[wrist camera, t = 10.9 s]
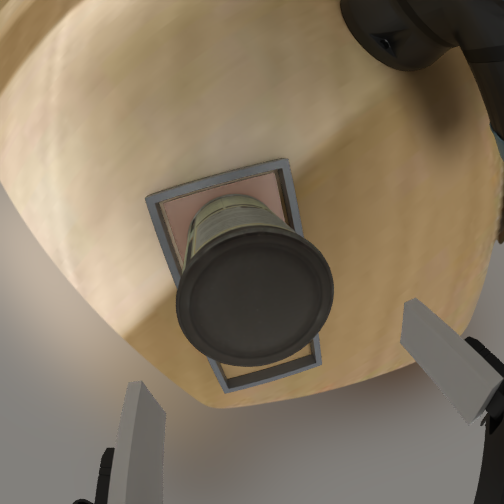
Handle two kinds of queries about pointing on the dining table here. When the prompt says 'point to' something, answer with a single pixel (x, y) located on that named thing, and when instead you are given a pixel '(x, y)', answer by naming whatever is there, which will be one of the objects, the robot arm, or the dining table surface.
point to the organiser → (180, 220)
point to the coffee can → (250, 284)
